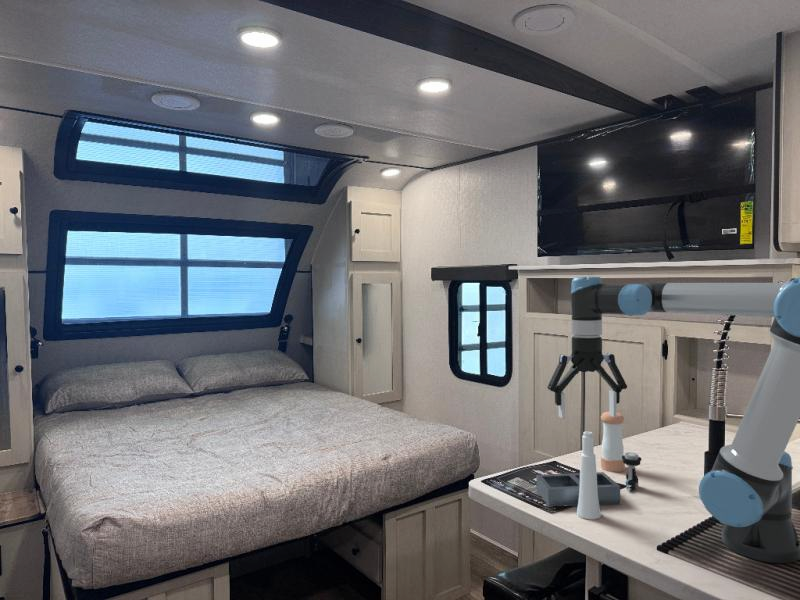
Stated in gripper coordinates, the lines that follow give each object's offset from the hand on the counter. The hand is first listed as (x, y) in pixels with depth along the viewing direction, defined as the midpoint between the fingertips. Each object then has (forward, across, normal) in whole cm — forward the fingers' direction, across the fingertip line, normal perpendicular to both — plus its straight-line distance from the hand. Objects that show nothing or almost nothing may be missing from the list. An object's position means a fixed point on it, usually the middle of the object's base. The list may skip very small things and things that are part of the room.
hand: (587, 416), depth 142 cm
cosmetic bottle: (+26, 0, 0) cm, 26 cm away
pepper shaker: (+26, -21, -33) cm, 47 cm away
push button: (+26, -19, -16) cm, 36 cm away
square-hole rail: (+26, -1, -11) cm, 28 cm away
